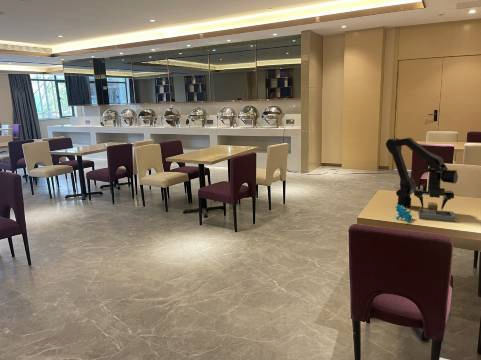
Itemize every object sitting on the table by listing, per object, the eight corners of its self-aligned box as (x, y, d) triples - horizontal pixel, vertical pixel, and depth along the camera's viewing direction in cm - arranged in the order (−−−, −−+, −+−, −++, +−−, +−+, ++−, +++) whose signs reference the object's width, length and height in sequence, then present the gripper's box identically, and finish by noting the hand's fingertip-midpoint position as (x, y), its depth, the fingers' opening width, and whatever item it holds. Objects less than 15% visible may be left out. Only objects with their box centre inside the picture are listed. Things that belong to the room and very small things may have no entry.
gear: (405, 221, 180) (394, 204, 185) (396, 227, 184) (385, 210, 189) (417, 219, 186) (406, 203, 191) (408, 225, 190) (398, 209, 195)
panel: (419, 218, 188) (419, 213, 188) (418, 213, 196) (418, 208, 196) (455, 221, 182) (455, 216, 182) (452, 216, 190) (453, 211, 190)
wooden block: (427, 212, 198) (428, 204, 197) (427, 209, 202) (427, 201, 201) (437, 212, 197) (437, 204, 196) (436, 210, 201) (436, 202, 200)
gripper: (415, 183, 192) (413, 211, 196) (456, 185, 185) (454, 214, 189) (414, 178, 202) (412, 206, 206) (453, 180, 195) (451, 208, 199)
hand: (432, 208), depth 199 cm, fingers open, 9 cm apart
